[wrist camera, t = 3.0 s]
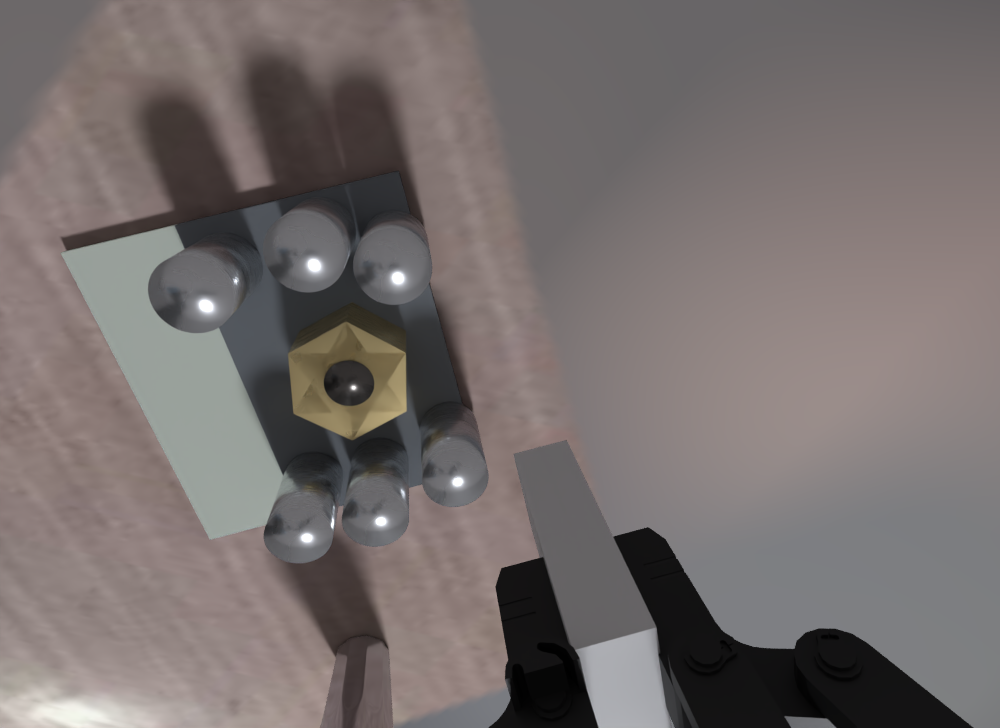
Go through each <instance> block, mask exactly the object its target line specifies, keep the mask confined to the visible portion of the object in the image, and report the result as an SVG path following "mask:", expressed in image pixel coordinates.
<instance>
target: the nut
mask: <svg viewBox="0 0 1000 728" xmlns="http://www.w3.org/2000/svg"><path fill="white" fill-rule="evenodd" d="M288 359H289V370H290V381H291V392H292V402H293V413H294V414H295V415H297V416H300V417H302V418H304V419H306V420H308V421H311V422H313V423H315V424H317V425H319V426H322V427H324V428H326V429H328V430H330V431H333V432H335V433H337V434H339V435H341V436H344V437H346V438H348V439H350V440H354V439H356V438H358V437H360V436H362V435H363V434H365V433H367V432H369V431H371V430H373V429H375V428H376V427H378V426H380V425H382V424H384V423H386V422H388V421H389V420H391V419H393V418H395V417H397V416H399V415H401V414H402V413H404V412H406V411H407V373H406V331H405V330H403V329H402V328H400V327H398V326H396V325H394V324H392V323H390V322H388V321H387V320H385V319H383V318H381V317H379V316H377V315H375V314H373V313H372V312H370V311H368V310H366V309H364V308H362V307H360V306H359V305H357V304H355V303H353V302H351V303H349V304H348V305H346V306H344V307H342V308H340V309H339V310H337V311H335V312H333V313H331V314H330V315H328V316H326V317H324V318H322V319H320V320H319V321H317V322H315V323H313V324H311V325H310V326H308V327H306V328H304V329H302V330H301V331H299V333H298V335H297V337H296V339H295V341H294V343H293V345H292V347H291V349H290V351H289V353H288Z"/></svg>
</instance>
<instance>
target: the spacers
mask: <svg viewBox="0 0 1000 728" xmlns="http://www.w3.org/2000/svg"><path fill="white" fill-rule="evenodd" d="M356 236H357V231H356V225H355V221H354V219H353V217H352V215H351V214H350V212H349V211H348V210H347V209H346V208H345V207H344V206H343V205H342V204H341V203H339V202H337V201H335V200H333V199H331V198H327V197H312V198H309V199H306V200H304V201H302V202H301V203H299V204H298V205H297V206H295V207H294V208H293V209H291V210H290V211H289V212H287V213H286V214H285V215H283V216H282V217H281V218H280V219H278V220H277V221H276V222H275V223H274V224H273V225H272V226H271V227H270V228H269V230H268V231H267V233H266V236H265V239H264V243H263V255H264V260H265V263H266V265H267V267H268V269H269V271H270V272H271V274H272V275H273V276H274V277H275V278H276V279H277V280H278V281H279V282H280V283H281V284H283V285H284V286H286V287H288V288H290V289H292V290H296V291H300V292H317V291H321V290H324V289H326V288H328V287H329V286H331V285H332V284H334V283H335V282H336V281H337V280H338V279H339V277H340V276H341V274H342V272H343V270H344V268H345V265H346V263H347V261H348V258H349V256H350V254H351V252H352V249H353V247H354V245H355V241H356ZM353 270H354V275H355V278H356V281H357V283H358V284H359V286H360V288H361V289H362V290H363V291H364V292H365V293H366V294H367V295H368V296H369V297H371V298H372V299H374V300H376V301H378V302H381V303H384V304H389V305H399V304H404V303H407V302H410V301H412V300H414V299H415V298H417V297H418V296H419V295H421V294H422V292H423V291H424V290H425V289H426V287H427V286H428V284H429V281H430V278H431V274H432V261H431V255H430V249H429V243H428V238H427V234H426V231H425V229H424V227H423V225H422V224H421V223H420V221H419V220H418V219H417V218H415V217H414V216H413V215H411V214H409V213H407V212H404V211H401V210H387V211H384V212H381V213H379V214H377V215H376V216H374V217H373V218H372V219H371V220H370V221H369V222H368V224H367V225H366V227H365V229H364V232H363V234H362V237H361V239H360V242H359V244H358V247H357V250H356V252H355V255H354V260H353ZM262 276H263V262H262V259H261V256H260V254H259V252H258V251H257V249H256V248H255V247H254V246H253V245H252V244H251V243H250V242H249V241H248V240H246V239H245V238H243V237H241V236H239V235H237V234H233V233H228V232H219V233H214V234H211V235H209V236H207V237H205V238H203V239H201V240H200V241H198V242H196V243H194V244H193V245H191V246H189V247H188V248H186V249H184V250H182V251H181V252H179V253H177V254H175V255H174V256H172V257H170V258H168V259H167V260H165V261H163V262H162V263H160V264H159V265H158V266H157V267H156V268H155V269H154V271H153V272H152V274H151V276H150V279H149V283H148V295H149V299H150V302H151V305H152V307H153V309H154V310H155V312H156V313H157V314H158V316H159V317H160V318H161V319H162V320H163V321H165V322H166V323H167V324H169V325H170V326H172V327H174V328H176V329H178V330H181V331H184V332H188V333H206V332H210V331H213V330H215V329H217V328H219V327H220V326H222V325H223V324H224V323H225V322H226V321H227V320H228V319H229V318H230V316H231V315H232V314H233V313H234V312H235V311H236V310H237V309H238V308H239V307H240V305H241V304H242V303H243V302H244V301H245V300H246V299H247V298H248V297H249V296H250V294H251V293H252V292H253V291H254V290H255V289H256V288H257V287H258V285H259V284H260V282H261V279H262ZM420 439H421V464H422V484H423V488H424V491H425V492H426V494H427V495H428V497H429V498H430V499H431V500H433V501H434V502H436V503H438V504H440V505H443V506H448V507H459V506H464V505H467V504H469V503H471V502H473V501H475V500H476V499H477V498H479V497H480V496H481V494H482V493H483V492H484V490H485V489H486V486H487V483H488V470H487V465H486V461H485V457H484V452H483V448H482V443H481V439H480V435H479V430H478V426H477V421H476V418H475V416H474V414H473V412H472V411H471V410H470V409H469V408H468V407H467V406H465V405H463V404H461V403H458V402H451V401H448V402H441V403H438V404H436V405H434V406H432V407H431V408H430V409H428V410H427V412H426V413H425V414H424V416H423V417H422V420H421V423H420ZM343 479H344V474H343V469H342V467H341V465H340V464H339V462H338V461H337V460H336V459H335V458H333V457H332V456H330V455H328V454H326V453H322V452H317V451H311V452H305V453H302V454H299V455H297V456H296V457H294V458H293V459H292V460H291V461H290V462H289V464H288V465H287V467H286V470H285V473H284V476H283V478H282V481H281V484H280V487H279V490H278V493H277V496H276V498H275V501H274V504H273V507H272V510H271V513H270V516H269V518H268V521H267V524H266V527H265V530H264V542H265V544H266V546H267V548H268V550H269V551H270V552H271V553H272V554H273V555H274V556H276V557H277V558H279V559H281V560H283V561H286V562H290V563H307V562H311V561H314V560H316V559H318V558H320V557H322V556H323V555H324V554H325V553H326V552H327V551H328V550H329V548H330V546H331V544H332V540H333V535H334V529H335V524H336V518H337V513H338V507H339V501H340V496H341V490H342V485H343ZM408 523H409V458H408V454H407V452H406V450H405V449H404V447H403V446H402V445H401V444H399V443H398V442H396V441H394V440H392V439H389V438H383V437H378V438H372V439H369V440H366V441H364V442H363V443H361V444H360V445H359V446H358V447H357V448H356V450H355V451H354V453H353V456H352V460H351V466H350V472H349V478H348V484H347V490H346V496H345V502H344V508H343V514H342V525H343V529H344V531H345V532H346V534H347V535H348V536H349V537H350V538H351V539H352V540H354V541H355V542H357V543H359V544H362V545H365V546H372V547H377V546H384V545H387V544H390V543H392V542H394V541H396V540H397V539H399V538H400V537H401V536H402V535H403V533H404V532H405V531H406V529H407V526H408Z"/></svg>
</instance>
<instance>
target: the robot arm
mask: <svg viewBox="0 0 1000 728" xmlns="http://www.w3.org/2000/svg"><path fill="white" fill-rule="evenodd" d="M514 458H515V462H516V466H517V470H518V474H519V479H520V483H521V487H522V491H523V495H524V499H525V503H526V507H527V511H528V515H529V520H530V524H531V528H532V532H533V535H534V539H535V542H536V546H537V549H538V553H539V556H540V558H538V559H534V560H530V561H527V562H523V563H519V564H516V565H512V566H508V567H504V568H501V571H500V574H499V577H498V581H497V584H496V592H497V598H498V604H499V608H500V615H501V621H502V626H503V632H504V638H505V643H506V649H507V655H508V662H507V664H506V670H505V681H506V684H507V687H508V691H509V694H510V697H511V699H510V702H509V704H508V706H507V708H506V710H505V712H504V713H503V714H502V716H501V717H500V718H499V719H498V720H497V721H496V722H495V723H494V724H493V725H491V726H490V727H489V728H672V727H671V720H672V722H673V724H674V727H675V728H973V727H972V726H970V725H969V724H968V723H967V722H965V721H964V720H963V719H962V718H961V717H959V716H958V715H957V714H955V713H954V712H953V711H952V710H951V709H949V708H948V707H947V706H945V705H944V704H943V703H942V702H940V701H939V700H938V699H937V698H935V697H934V696H933V695H932V694H930V693H929V692H928V691H927V690H925V689H924V688H923V687H922V686H920V685H919V684H918V683H917V682H915V681H914V680H913V679H912V678H910V677H909V676H908V675H907V674H905V673H904V672H903V671H902V670H900V669H899V668H898V667H897V666H895V665H894V664H893V663H892V662H890V661H889V660H888V659H887V658H885V657H884V656H882V654H880V653H879V652H878V651H877V650H875V649H874V648H873V647H871V646H870V645H869V644H868V643H866V642H865V641H863V640H861V639H860V638H858V637H856V636H855V635H853V634H851V633H848V632H844V631H841V630H837V629H816V630H813V631H810V632H807V633H805V634H804V635H803V636H802V637H801V638H800V639H798V640H797V642H796V646H795V649H770V648H759V647H752V646H749V645H746V644H743V643H740V642H738V641H736V640H734V639H733V637H731V636H729V635H728V634H726V633H724V632H723V631H722V630H721V629H720V627H719V626H718V625H717V624H716V622H715V621H714V619H713V617H712V616H711V614H710V612H709V611H708V609H707V607H706V606H705V604H704V602H703V601H702V599H701V598H700V596H699V594H698V592H697V591H696V589H695V587H694V586H693V584H692V582H691V581H690V579H689V578H688V576H687V575H686V573H685V572H684V569H683V568H682V566H681V564H680V563H679V561H678V559H676V556H675V554H674V553H673V551H672V549H671V548H670V546H669V544H668V543H667V541H666V539H664V538H663V537H661V536H660V535H659V534H657V533H656V532H654V531H653V530H651V529H650V528H648V527H647V528H644V529H640V530H636V531H632V532H629V533H625V534H621V535H618V536H614V537H613V536H612V534H611V532H610V529H609V527H608V525H607V523H606V521H605V519H604V517H603V515H602V513H601V511H600V509H599V507H598V504H597V502H596V500H595V498H594V496H593V494H592V492H591V490H590V488H589V486H588V484H587V482H586V479H585V477H584V475H583V473H582V471H581V469H580V467H579V465H578V463H577V461H576V459H575V457H574V455H573V452H572V450H571V448H570V446H569V444H568V442H567V440H565V441H561V442H557V443H553V444H550V445H546V446H542V447H538V448H534V449H531V450H527V451H523V452H519V453H515V454H514ZM670 717H671V720H670Z"/></svg>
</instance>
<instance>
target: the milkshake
mask: <svg viewBox="0 0 1000 728" xmlns="http://www.w3.org/2000/svg"><path fill="white" fill-rule="evenodd" d="M320 728H393V712H392V693H391V674H390V656H389V650H388V649H387V647H386V646H385V644H384V643H383V641H382V640H380V639H377V638H374V637H371V636H368V635H365V636H359V637H352V638H350V639H348V640H347V641H346V642H345V643H343V644H342V645H341V646H339V648H338V651H337V656H336V660H335V665H334V669H333V674H332V678H331V683H330V687H329V692H328V697H327V701H326V706H325V710H324V714H323V718H322V722H321V725H320Z"/></svg>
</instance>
